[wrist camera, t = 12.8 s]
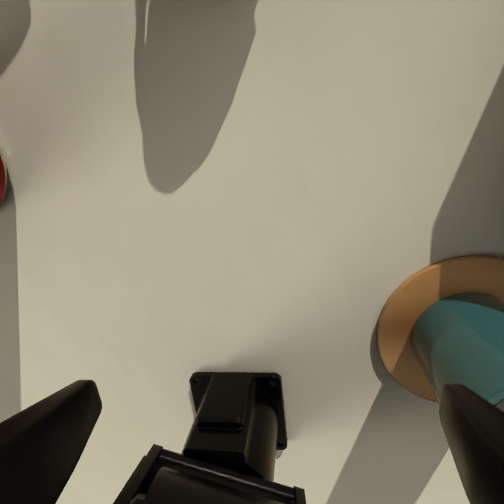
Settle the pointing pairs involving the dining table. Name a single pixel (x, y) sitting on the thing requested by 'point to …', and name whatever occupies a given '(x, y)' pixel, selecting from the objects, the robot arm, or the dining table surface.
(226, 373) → the robot arm
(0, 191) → the soda can
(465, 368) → the cup
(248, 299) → the dining table surface
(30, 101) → the dining table surface
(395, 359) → the coaster
